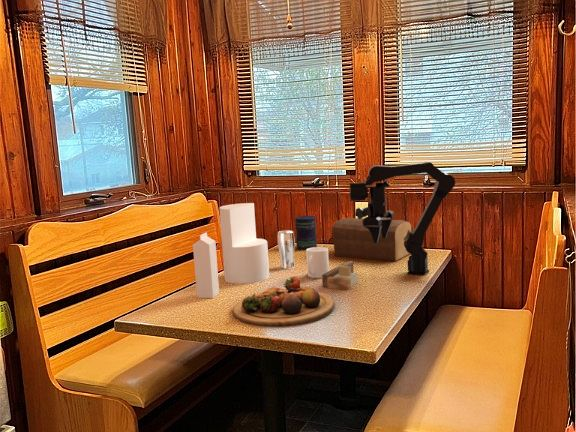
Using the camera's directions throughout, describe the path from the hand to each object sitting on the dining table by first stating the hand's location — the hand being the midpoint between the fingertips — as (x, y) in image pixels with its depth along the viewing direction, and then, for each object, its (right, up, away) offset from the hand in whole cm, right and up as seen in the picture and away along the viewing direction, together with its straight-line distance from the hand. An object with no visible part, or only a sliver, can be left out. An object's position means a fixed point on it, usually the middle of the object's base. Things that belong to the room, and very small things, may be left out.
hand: (380, 240), depth 212 cm
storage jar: (-26, -6, +56) cm, 62 cm away
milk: (-62, -19, -14) cm, 67 cm away
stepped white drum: (-50, -15, +7) cm, 53 cm away
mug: (-24, -14, +3) cm, 28 cm away
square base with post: (-14, -15, -9) cm, 23 cm away
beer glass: (-35, -12, +20) cm, 42 cm away
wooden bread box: (+2, -8, +34) cm, 35 cm away
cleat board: (-12, -14, -5) cm, 20 cm away
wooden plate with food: (-36, -21, -34) cm, 54 cm away
